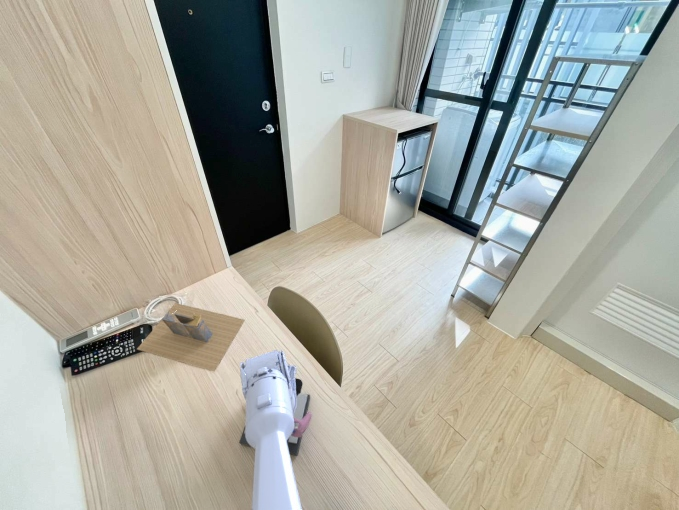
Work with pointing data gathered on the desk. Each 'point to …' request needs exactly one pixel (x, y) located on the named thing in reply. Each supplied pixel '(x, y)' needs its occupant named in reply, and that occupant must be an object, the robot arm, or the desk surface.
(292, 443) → the scale
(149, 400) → the desk surface
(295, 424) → the video game controller
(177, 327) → the ruin model on sheet
